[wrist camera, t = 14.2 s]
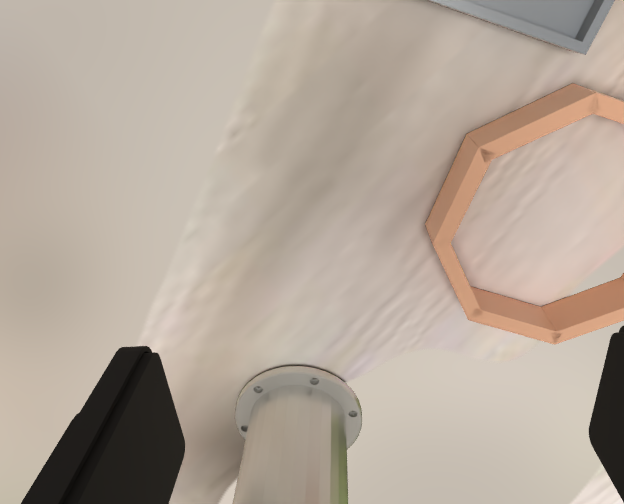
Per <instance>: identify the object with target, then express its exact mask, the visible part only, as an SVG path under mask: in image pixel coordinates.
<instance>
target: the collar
mask: <svg viewBox="0 0 624 504" xmlns="http://www.w3.org/2000/svg"><path fill="white" fill-rule="evenodd" d="M591 114H596V115H599V116H602V117H605V118H608V119H611V120H614V121H617V122H620V123H623V124H624V101H623V100H620V99H617V98H614V97H611V96H608V95H606V94H603V93H600V92H597V91H594V90H591V89H588V88H585V87H582V86H579V85H576V84H574V83H572V84H570V85H568V86H566V87H564V88H562V89H560V90H557V91H555V92H553V93H551V94H549V95H547V96H545V97H543V98H541V99H539V100H536V101H534V102H532V103H530V104H528V105H526V106H524V107H522V108H520V109H518V110H516V111H513V112H511V113H509V114H507V115H505V116H503V117H501V118H499V119H497V120H495V121H493V122H490V123H488V124H486V125H484V126H482V127H480V128H478V129H476V130H474V131H472V132H469V133H467V134H466V136H465V138H464V140H463V143H462V145H461V147H460V149H459V151H458V154H457V156H456V158H455V160H454V162H453V164H452V167H451V169H450V171H449V173H448V175H447V178H446V180H445V182H444V184H443V186H442V188H441V191H440V193H439V195H438V197H437V199H436V202H435V204H434V206H433V208H432V210H431V212H430V215H429V217H428V219H427V221H426V223H425V225H426V228H427V231H428V233H429V236H430V238H431V241H432V244H433V246H434V248H435V250H436V252H437V254H438V257H439V259H440V261H441V263H442V265H443V267H444V269H445V271H446V274H447V276H448V278H449V280H450V282H451V284H452V286H453V289H454V291H455V293H456V295H457V297H458V299H459V301H460V303H461V306H462V308H463V310H464V312H465V314H466V316H467V318H468V320H470V321H474V322H477V323H481V324H484V325H488V326H491V327H495V328H498V329H502V330H505V331H509V332H512V333H516V334H520V335H523V336H527V337H530V338H534V339H537V340H541V341H544V342H548V343H551V344H557V343H560V342H563V341H566V340H569V339H572V338H575V337H577V336H581V335H583V334H586V333H589V332H592V331H594V330H598V329H601V328H604V327H606V326H609V325H612V324H615V323H618V322H621V321H624V273H623V275H622V276H621V277H620V278H618V279H615V280H612V281H610V282H607V283H604V284H601V285H599V286H596V287H593V288H591V289H588V290H585V291H582V292H580V293H577V294H574V295H572V296H569V297H566V298H564V299H561V300H558V301H555V302H553V303H550V304H547V305H545V306H542V307H539V306H536V305H533V304H529V303H526V302H522V301H519V300H515V299H512V298H509V297H505V296H502V295H498V294H495V293H491V292H488V291H485V290H481V289H478V288H474V287H471V286H470V285H469V283H468V281H467V278H466V276H465V274H464V272H463V269H462V267H461V265H460V263H459V261H458V258H457V256H456V254H455V252H454V249H453V247H452V245H451V241H452V239H453V237H454V235H455V233H456V231H457V229H458V227H459V225H460V223H461V221H462V219H463V217H464V215H465V213H466V211H467V209H468V207H469V205H470V203H471V201H472V199H473V197H474V195H475V193H476V191H477V189H478V187H479V185H480V183H481V181H482V179H483V177H484V175H485V173H486V171H487V169H488V167H489V164H490V162H491V160H492V159H494V158H497V157H499V156H501V155H503V154H505V153H508V152H510V151H512V150H514V149H516V148H518V147H521V146H523V145H525V144H527V143H529V142H532V141H534V140H536V139H538V138H540V137H542V136H545V135H547V134H549V133H551V132H553V131H556V130H558V129H560V128H562V127H564V126H567V125H569V124H571V123H573V122H575V121H577V120H580V119H582V118H584V117H586V116H588V115H591Z"/></svg>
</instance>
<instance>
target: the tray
mask: <svg viewBox="0 0 624 504" xmlns="http://www.w3.org/2000/svg"><path fill="white" fill-rule="evenodd" d="M427 1H430V2H433V3H436V4H439V5H442V6H444V7H447V8H450V9H453V10H456V11H459V12H461V13H464V14H467V15H470V16H473V17H476V18H479V19H481V20H484V21H487V22H490V23H493V24H496V25H499V26H501V27H504V28H507V29H510V30H513V31H516V32H518V33H521V34H524V35H527V36H530V37H533V38H536V39H538V40H541V41H544V42H547V43H550V44H553V45H555V46H558V47H561V48H564V49H567V50H570V51H573V52H577V53H581V54H585V55H586V53H587V51H588V50H589V48H590V46H591V44H592V42H593V40H594V38H595V36H596V35H597V33H598V31H599V29H600V27H601V25H602V23H603V21H604V20H605V18H606V16H607V14H608V12H609V10H610V8H611V6H612V5H613V3H614V1H615V0H427Z"/></svg>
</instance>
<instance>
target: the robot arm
mask: <svg viewBox="0 0 624 504" xmlns="http://www.w3.org/2000/svg"><path fill="white" fill-rule="evenodd" d="M235 420H236V425H237V428H238V430H239V432H240V434H241V436H242V437H243V438H244V440H245V445H244V450H243V455H242V460H241V465H240V470H239V475H238V480H237V486H236V490H235V495H234V500H233V504H348V482H347V481H348V480H347V449H348V448H349V447H350V446H351V445H352V444H353V443H354V442H355V440H356V439H357V437H358V435H359V433H360V430H361V426H362V412H361V406H360V403H359V400H358V398H357V396H356V395H355V393H354V391H353V390H352V389H351V388H350V387H349V386H348V385H347V384H346V383H345V382H343V381H342V380H341V379H339V378H338V377H336V376H334V375H332V374H330V373H328V372H326V371H322V370H319V369H316V368H311V367H304V366H287V367H280V368H275V369H272V370H269V371H266V372H264V373H262V374H260V375H258V376H256V377H255V378H254V379H252V380H251V381H250V382H249V383H248V384H247V385H246V386H245V387H244V389H243V390H242V391H241V393H240V396H239V398H238V401H237V405H236V409H235ZM589 437H590V441H591V444H592V446H593V448H594V450H595V452H596V454H597V456H598V457H599V459H600V461H601V463H602V464H603V466H604V468H605V470H606V472H607V473H608V475H609V477H610V479H611V481H612V482H613V484H614V486H615V488H616V489H617V491H618V493H619V495H620V497H621V498H622V500H623V502H624V326H622V327H621V328H620V330H619V333H614V334H613V335H612V336H611V339H610V343H609V347H608V351H607V355H606V360H605V364H604V368H603V372H602V376H601V380H600V384H599V389H598V393H597V397H596V401H595V405H594V409H593V413H592V418H591V422H590V426H589ZM184 453H185V441H184V436H183V433H182V430H181V426H180V423H179V420H178V416H177V413H176V409H175V406H174V403H173V399H172V396H171V393H170V389H169V386H168V383H167V379H166V376H165V372H164V369H163V366H162V362H161V359H160V356H159V354H158V353H152V351H151V349H150V348H149V347H147V346H139V347H122V348H120V349H119V350H118V351H117V352H116V354H115V355H114V357H113V359H112V360H111V362H110V364H109V365H108V367H107V369H106V370H105V372H104V374H103V375H102V377H101V378H100V380H99V382H98V383H97V385H96V387H95V388H94V390H93V391H92V393H91V395H90V396H89V398H88V400H87V401H86V403H85V405H84V406H83V408H82V410H81V411H80V413H78V414H77V415H76V416H75V417H74V419H73V420H72V421H71V423H70V425H69V426H68V428H67V430H66V431H65V433H64V434H63V436H62V438H61V439H60V441H59V442H58V444H57V446H56V447H55V449H54V451H53V452H52V454H51V455H50V457H49V459H48V460H47V462H46V464H45V465H44V467H43V468H42V470H41V472H40V473H39V475H38V477H37V478H36V480H35V481H34V483H33V485H32V486H31V488H30V490H29V491H28V493H27V494H26V496H25V498H24V499H23V501H22V503H21V504H169V501H170V497H171V494H172V491H173V488H174V485H175V482H176V479H177V476H178V473H179V470H180V467H181V464H182V461H183V457H184Z"/></svg>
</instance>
